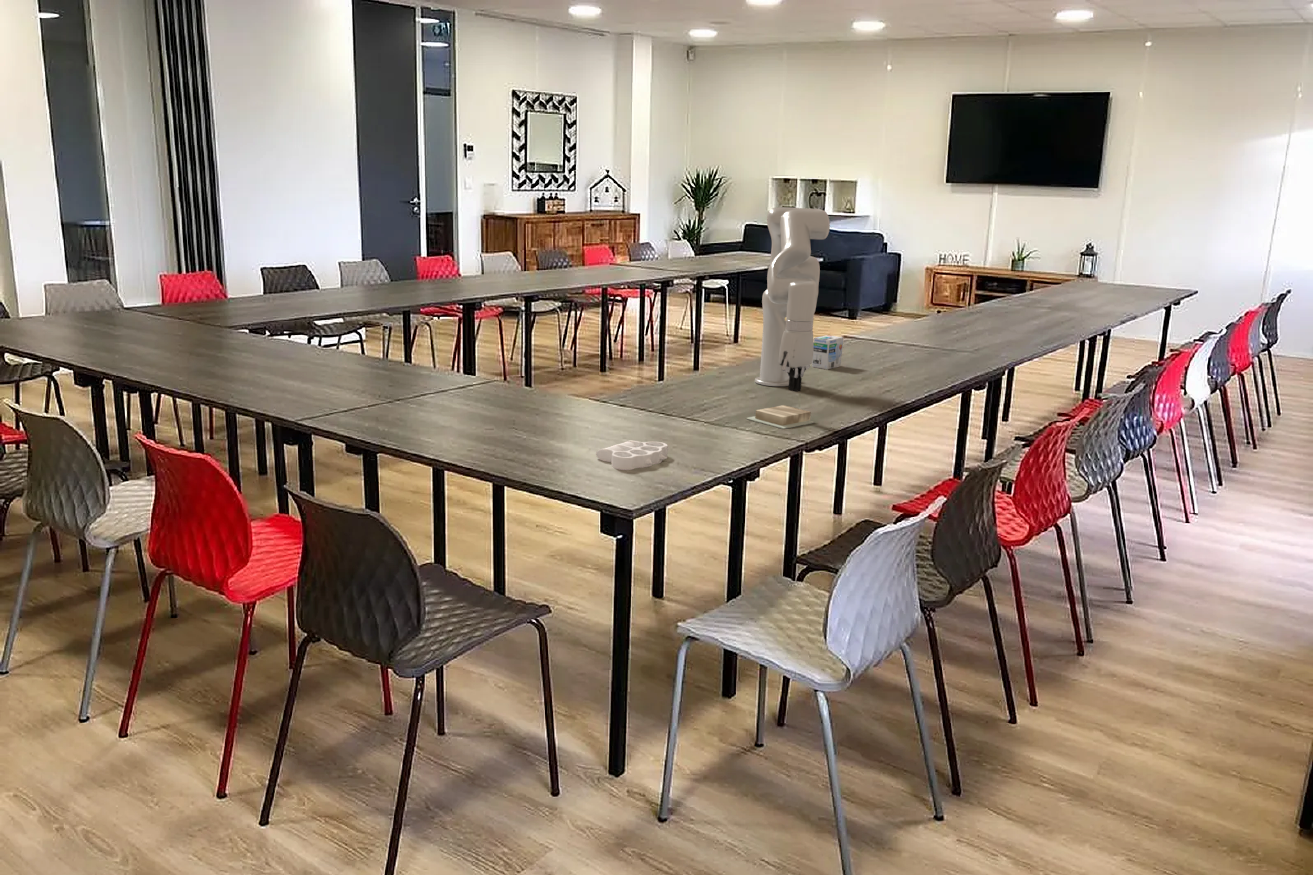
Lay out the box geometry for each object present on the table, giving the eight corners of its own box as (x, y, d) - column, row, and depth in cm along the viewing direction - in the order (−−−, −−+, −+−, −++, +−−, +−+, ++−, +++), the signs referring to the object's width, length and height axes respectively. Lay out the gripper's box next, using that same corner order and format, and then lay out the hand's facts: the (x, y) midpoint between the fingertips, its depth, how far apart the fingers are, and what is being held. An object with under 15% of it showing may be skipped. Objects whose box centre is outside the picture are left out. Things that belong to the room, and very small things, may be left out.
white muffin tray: (632, 448, 265) (681, 460, 257) (587, 463, 251) (636, 475, 242) (633, 435, 264) (681, 446, 256) (587, 449, 250) (637, 461, 242)
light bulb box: (827, 369, 378) (829, 340, 376) (810, 367, 382) (813, 337, 379) (841, 366, 387) (844, 336, 384) (825, 363, 390) (827, 334, 388)
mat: (776, 413, 308) (776, 412, 308) (813, 422, 298) (813, 421, 298) (745, 418, 299) (745, 417, 299) (783, 429, 289) (783, 428, 289)
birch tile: (783, 405, 306) (755, 410, 298) (810, 411, 299) (782, 417, 291) (783, 413, 307) (755, 418, 299) (810, 420, 300) (782, 425, 292)
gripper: (806, 322, 303) (801, 385, 308) (771, 326, 293) (766, 391, 298) (826, 326, 298) (821, 390, 302) (792, 330, 288) (787, 396, 293)
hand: (794, 390), depth 300 cm, fingers closed
